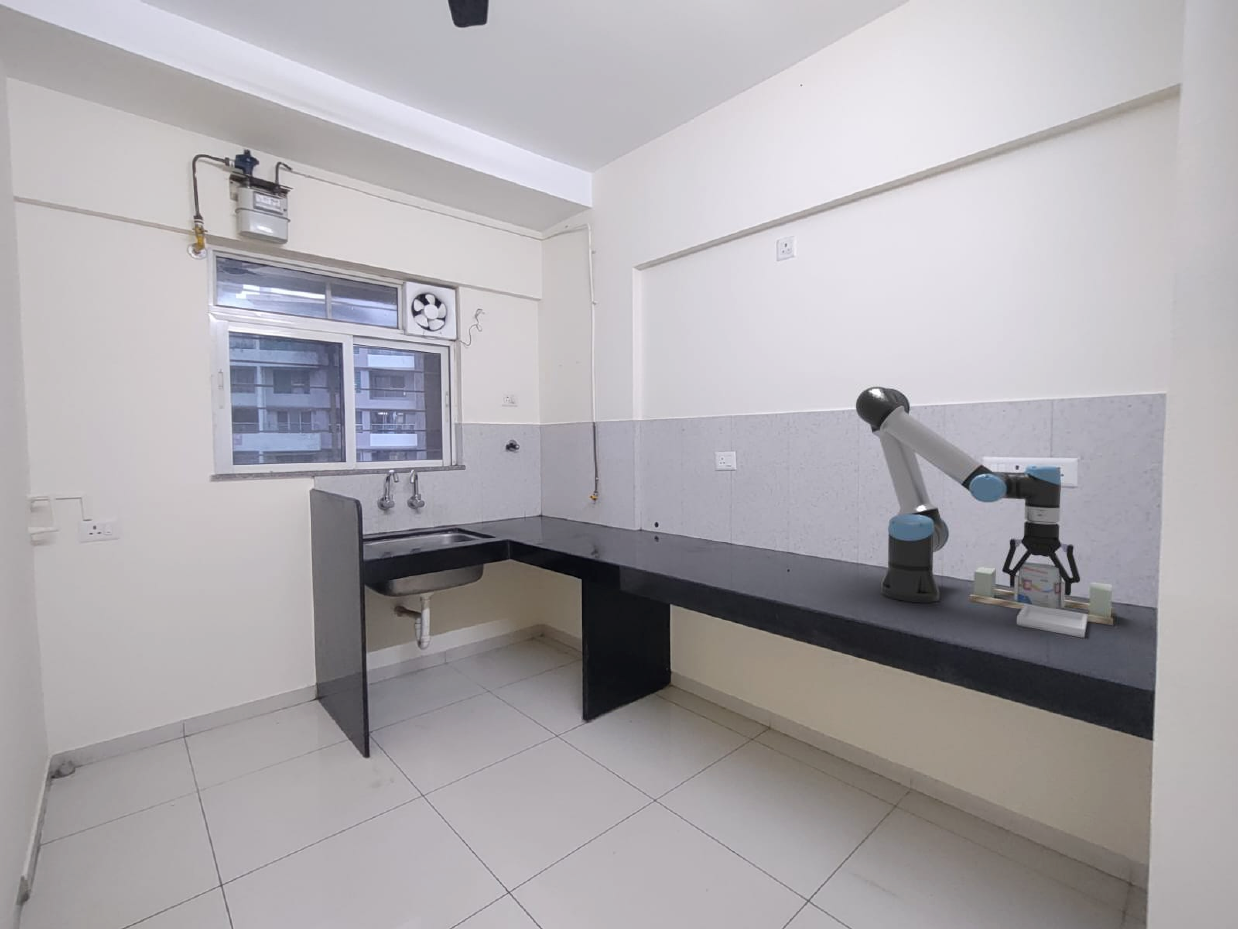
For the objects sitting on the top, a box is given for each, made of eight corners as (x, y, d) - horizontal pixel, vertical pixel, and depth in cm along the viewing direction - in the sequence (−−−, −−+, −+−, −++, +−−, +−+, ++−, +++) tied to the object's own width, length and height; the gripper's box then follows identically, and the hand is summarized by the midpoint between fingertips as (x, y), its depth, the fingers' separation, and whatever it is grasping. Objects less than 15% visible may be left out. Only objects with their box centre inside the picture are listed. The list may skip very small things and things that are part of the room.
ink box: (1016, 603, 149) (1017, 561, 148) (1027, 601, 150) (1029, 560, 150) (1050, 612, 141) (1051, 568, 140) (1062, 610, 142) (1063, 566, 142)
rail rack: (969, 600, 151) (969, 595, 151) (978, 591, 160) (978, 586, 160) (1112, 625, 130) (1113, 619, 130) (1113, 613, 140) (1113, 607, 140)
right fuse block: (1088, 618, 135) (1090, 588, 135) (1090, 611, 141) (1091, 582, 141) (1110, 622, 132) (1111, 591, 132) (1110, 614, 138) (1111, 584, 138)
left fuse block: (973, 598, 153) (974, 571, 152) (979, 593, 158) (979, 566, 158) (990, 601, 150) (991, 574, 149) (995, 595, 156) (995, 569, 155)
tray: (1016, 624, 131) (1016, 617, 131) (1024, 611, 141) (1024, 603, 141) (1084, 637, 122) (1084, 629, 122) (1087, 622, 133) (1087, 614, 133)
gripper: (990, 519, 149) (988, 597, 150) (1095, 528, 134) (1091, 614, 135) (995, 516, 155) (993, 592, 156) (1096, 524, 139) (1093, 608, 140)
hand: (1039, 602), depth 145 cm, fingers closed on ink box, 9 cm apart
